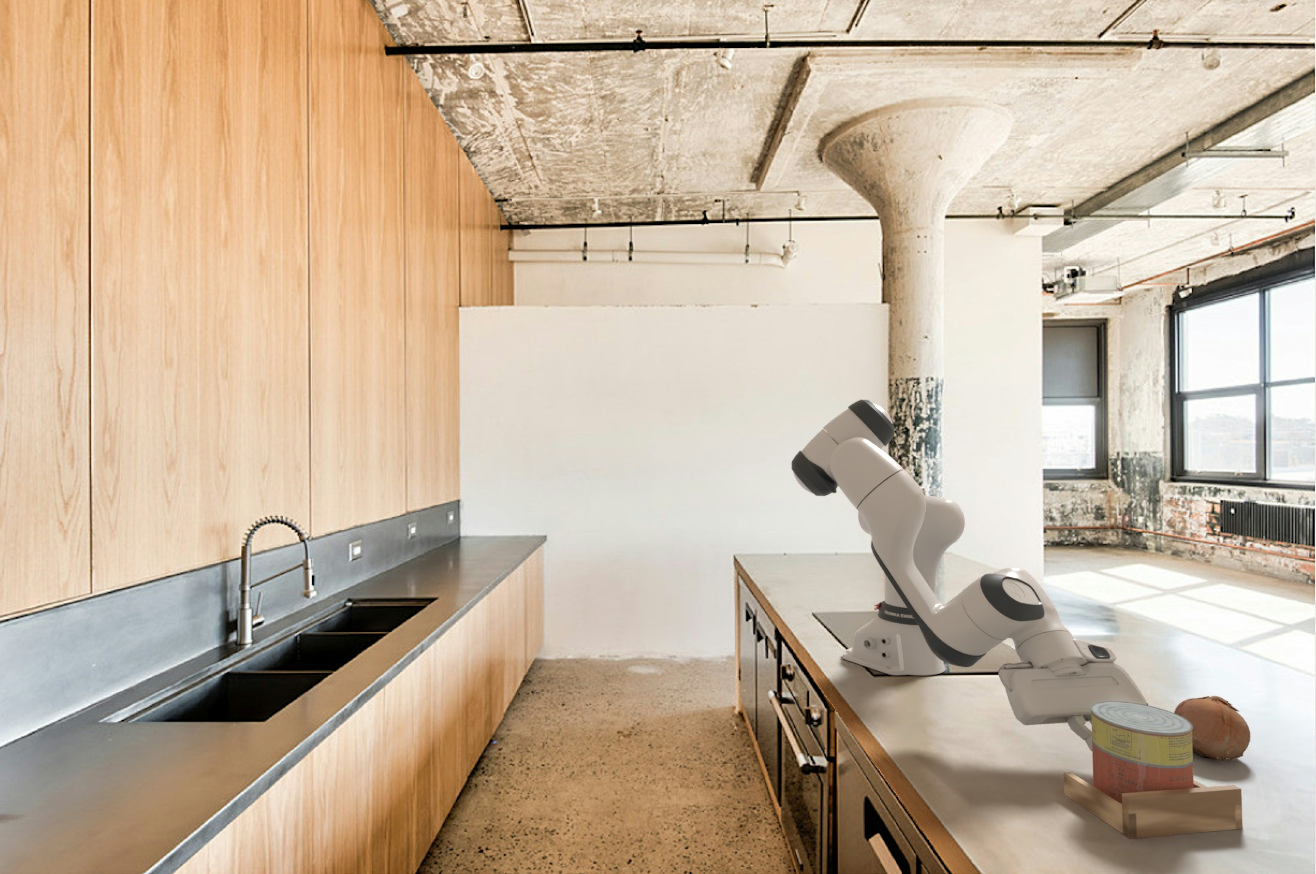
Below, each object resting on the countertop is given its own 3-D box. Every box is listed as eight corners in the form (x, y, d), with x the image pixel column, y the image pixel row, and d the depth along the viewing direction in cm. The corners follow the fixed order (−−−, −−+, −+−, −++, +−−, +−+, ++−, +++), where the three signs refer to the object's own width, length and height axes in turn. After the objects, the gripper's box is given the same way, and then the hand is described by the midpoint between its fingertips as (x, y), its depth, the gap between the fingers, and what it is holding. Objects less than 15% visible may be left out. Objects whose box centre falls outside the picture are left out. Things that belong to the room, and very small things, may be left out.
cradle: (1064, 794, 93) (1063, 758, 93) (1165, 786, 95) (1164, 751, 95) (1129, 838, 82) (1128, 797, 82) (1242, 828, 84) (1241, 788, 84)
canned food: (1157, 786, 95) (1155, 701, 96) (1218, 830, 84) (1215, 734, 84) (1075, 783, 96) (1073, 700, 96) (1125, 827, 85) (1122, 732, 85)
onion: (1220, 767, 107) (1235, 708, 109) (1256, 778, 98) (1272, 713, 100) (1154, 739, 110) (1170, 681, 112) (1184, 746, 102) (1200, 683, 103)
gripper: (1002, 654, 103) (1048, 744, 93) (1121, 648, 105) (1178, 736, 95) (985, 673, 107) (1027, 762, 97) (1099, 668, 110) (1152, 754, 100)
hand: (1103, 749), depth 96 cm, fingers closed, pressing on canned food
